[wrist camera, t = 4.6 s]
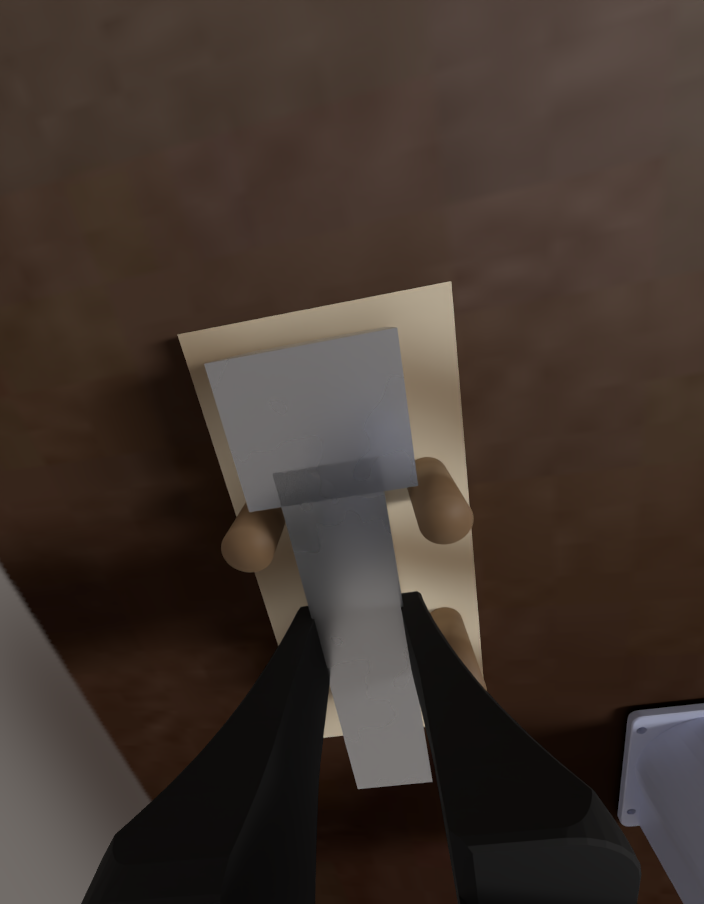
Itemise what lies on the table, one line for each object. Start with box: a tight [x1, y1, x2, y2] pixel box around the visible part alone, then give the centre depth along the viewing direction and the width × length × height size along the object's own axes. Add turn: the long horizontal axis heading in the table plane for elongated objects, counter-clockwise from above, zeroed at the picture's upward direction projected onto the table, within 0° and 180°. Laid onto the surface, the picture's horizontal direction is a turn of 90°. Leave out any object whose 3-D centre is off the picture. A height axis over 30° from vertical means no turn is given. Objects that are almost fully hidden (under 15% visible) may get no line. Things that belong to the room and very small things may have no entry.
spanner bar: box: [204, 327, 432, 789], centre depth 13 cm, size 16×5×4 cm, turn 10°
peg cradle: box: [178, 281, 487, 738], centre depth 14 cm, size 20×9×4 cm, turn 10°
